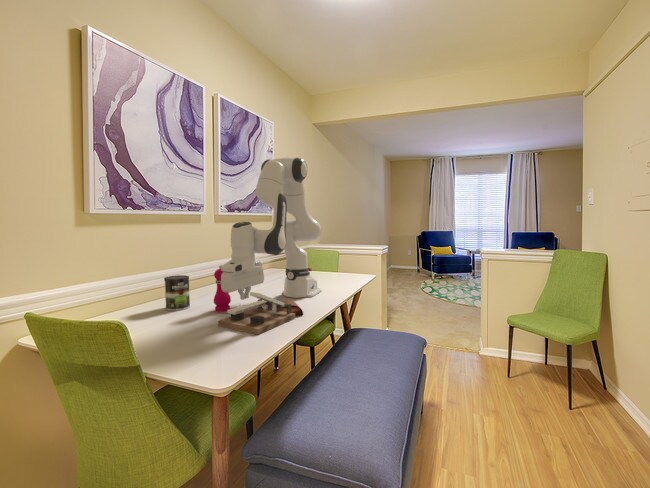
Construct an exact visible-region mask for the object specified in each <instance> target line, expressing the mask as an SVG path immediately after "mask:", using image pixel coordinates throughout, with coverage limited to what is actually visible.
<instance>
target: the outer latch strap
mask: <svg viewBox="0 0 650 488" xmlns="http://www.w3.org/2000/svg"><path fill="white" fill-rule="evenodd" d="M250 296H251V297H253V298H257V299H258V300H259V299H261V300H263V301H267V302H270V303H272V305H275V306H276V305H278V306H283V307H287V304H286V303H285V302H283V301H281V300H278V299H275V298H272V297H270V296H267V295H264V294H262V293H259V292H253V291H250V293H249V297H250Z"/></svg>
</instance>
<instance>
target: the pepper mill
mask: <svg viewBox="0 0 650 488" xmlns="http://www.w3.org/2000/svg"><path fill="white" fill-rule="evenodd" d="M222 265H223V264H220V265H219V267H218V269H216V270H215V271H214V274H213V276H214V278H215V284H216V292H215V295H214V297H213V304H214V305H215V306H214V311H215V312H216V313H227V310H230V309H231V306H230V303H231V301H232V299H231V295H230V293H227V292H223V291H222V289H221V275H222V273H223V272H224V271H222V270H221V266H222Z"/></svg>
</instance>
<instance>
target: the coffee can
mask: <svg viewBox="0 0 650 488" xmlns="http://www.w3.org/2000/svg"><path fill="white" fill-rule="evenodd" d="M164 293H165V294H164V296H165V298H164V299H165V301H164V302H165V310H166V311H171V312H175V311H183V310H187V309H189V308H190V307H191V305H190V304H191V303H190V302H191V301H190V300H191V299H190V276H189V275H185V274H184V275H183V274H182V275H179V274H178V275H170V276H166V277H164Z"/></svg>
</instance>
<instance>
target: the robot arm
mask: <svg viewBox="0 0 650 488" xmlns="http://www.w3.org/2000/svg"><path fill="white" fill-rule="evenodd" d="M307 174H308V165H307V162H306V161H305V160H304V159H303V158H300V157H279V158H269V159H265V160H264V161H263V162H262V164H261V166H260V174H259V176H258V179H257V183H256V188H255V194H256V197H257V199H258V200H259V201H260V202H261V203H262V204H264V205H266V207H267V206H268V207H271V208H272V209H273V215H272V216H273V218H272V220H273V221H272V227H271V228H269V229H258V228H256V227H254V226H253V224H252V222H249V221H239V222H235V223H234V224H233V225H232V227H231V230H230V248H231V251H232V252H231V255H230V257H231V259H230V260H229V261H227V262H226V263H224V264H221V265H222V266H221V270H222V271H224V272H223V273H222V275H221V289H222V291H223V292H227V293H229V294H230V293H232V292H238V295H239V297H240V300H243V301H244V300H247V299H249V298H250V292H251V289H252V287H254V286H258V285H260V284H263V283H264V281H265V273H264V269H263V264H262V262H261V261H260V260H257V261H256V256H255V254H265V255H267V254H268V255H270V256H279V255H280V254H281V253H282V252H283V251H284V253H285V263H286V266H285V267H286V268H285V278H284V284H283V285H284V286H283V290H282V294H283V296H284V297H286V298H287V297H288V298H299V299H300V298H312V297H315V296H316V295H318V294H320V293H322V288H318V281H317V279H315V278H314V277H313V276H312V275H311V272H313V267H308V265H309V263H308V262H309V261H308V259H309V258H308V252H307V251H306V250H305V249H303V248H301V247H299V245H298V244H297V242H313V241H317V240H319V239H320V237H321V236H322V226H321V224H320V223H319V221H317V220H315V218H313V216H311V214H310V212H309V210H308V208H307V202H306V193H305V190H306V189H305V183H304V180H305V179H306V177H307ZM287 213H288V214H289V215H291V216H293V217H294V219H287Z"/></svg>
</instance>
